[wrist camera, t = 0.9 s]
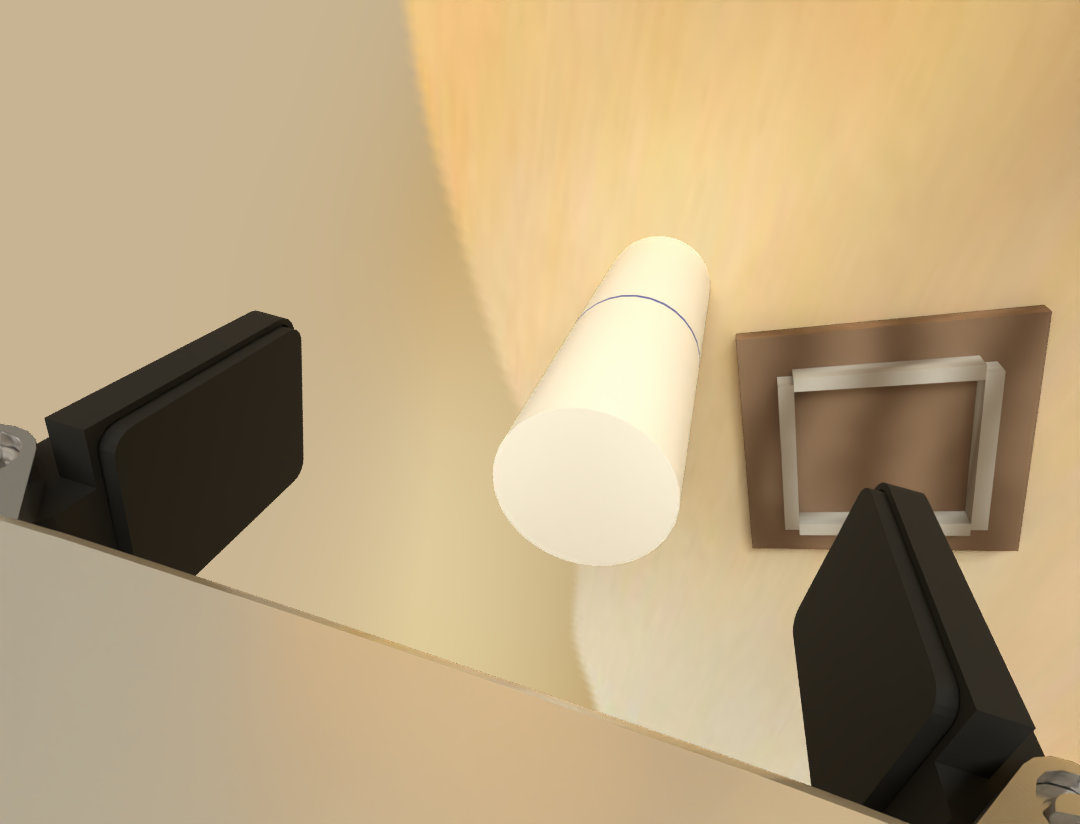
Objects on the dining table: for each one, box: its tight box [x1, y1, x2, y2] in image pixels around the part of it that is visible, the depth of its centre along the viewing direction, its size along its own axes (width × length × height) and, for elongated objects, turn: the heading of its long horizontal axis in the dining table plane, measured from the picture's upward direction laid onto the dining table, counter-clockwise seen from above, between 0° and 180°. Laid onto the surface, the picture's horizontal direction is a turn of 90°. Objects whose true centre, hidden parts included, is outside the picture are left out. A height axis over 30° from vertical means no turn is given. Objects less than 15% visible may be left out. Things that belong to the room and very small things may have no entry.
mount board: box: [736, 305, 1052, 551], centre depth 45 cm, size 18×18×3 cm
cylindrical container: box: [493, 236, 710, 566], centre depth 35 cm, size 7×7×25 cm
